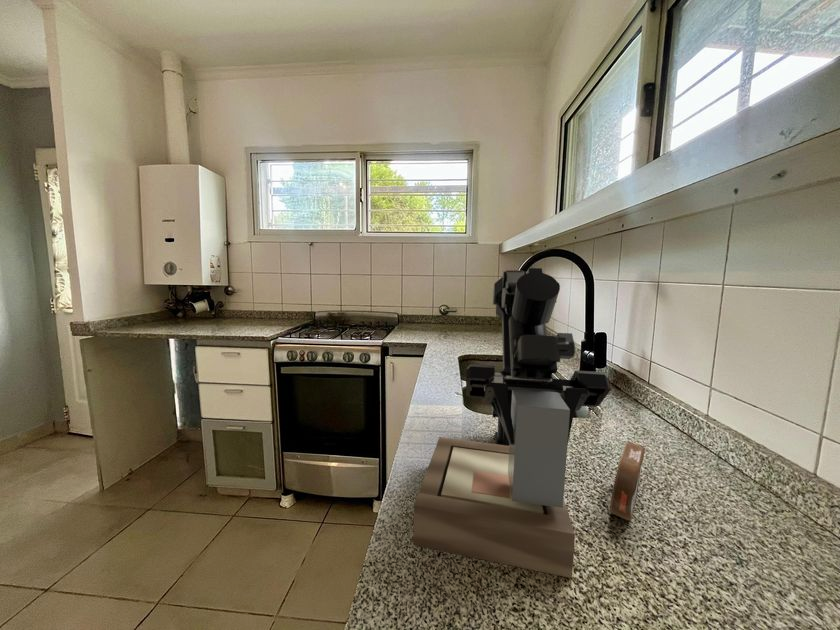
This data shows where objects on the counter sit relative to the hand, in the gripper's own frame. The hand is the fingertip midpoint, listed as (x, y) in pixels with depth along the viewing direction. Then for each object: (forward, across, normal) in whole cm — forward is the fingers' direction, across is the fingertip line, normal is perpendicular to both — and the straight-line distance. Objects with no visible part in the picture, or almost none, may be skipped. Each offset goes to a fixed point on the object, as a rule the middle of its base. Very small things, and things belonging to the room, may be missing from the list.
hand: (537, 446), depth 41 cm
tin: (+2, +16, +18) cm, 24 cm away
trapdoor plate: (+2, -5, +10) cm, 12 cm away
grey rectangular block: (+4, 0, +6) cm, 7 cm away
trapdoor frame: (+6, -5, +14) cm, 16 cm away
